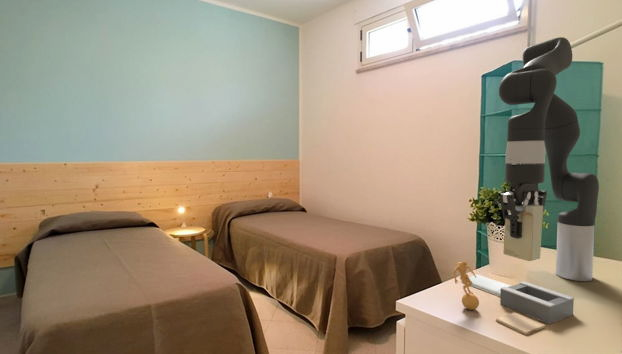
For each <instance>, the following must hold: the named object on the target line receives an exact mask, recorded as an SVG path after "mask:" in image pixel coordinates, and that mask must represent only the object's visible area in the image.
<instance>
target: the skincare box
mask: <svg viewBox="0 0 622 354" xmlns="http://www.w3.org/2000/svg"><path fill="white" fill-rule="evenodd" d="M515 207H519V208H520V207H521V206H517V205H515ZM525 207H526V206H525ZM509 211H510V210H508V214H509ZM516 214H517V215H518V211H516ZM543 214H544V210H543V206H540V205H527V207H526V211H525V212H524V213H523V217H522V221H521V222H522V237H521V238H519V239H517V238H513V237H511V236H510V220H508V219H505V218H504V238H503V255H506V256H507V257H513V258H516V259H519V260H522V261H527V262H532V261H536V260H539V259H541V251H542V250H541V249H542V231H543V216H544V215H543Z"/></svg>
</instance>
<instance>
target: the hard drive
mask: <svg viewBox="0 0 622 354" xmlns="http://www.w3.org/2000/svg"><path fill="white" fill-rule="evenodd" d="M475 276H476V277H475ZM475 276H474V275H471V276H468V277H469V279H470V280H471V281H472V285H471V286H470V287H473V288H475V289H478V290H481V291H483V292H486V293H489V294H492V295H494V296H497V297H500V294H501V288H502V287H509V286H511V285H510V284H506V283H503V282H500V281H499V280H495V279H492V278H489V277H486V276H483V275H480V274H475ZM460 281H461V280H460ZM461 283H462V284H464V283H463V282H462V281H461ZM467 283H468V282H467ZM468 284H469V283H468Z"/></svg>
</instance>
